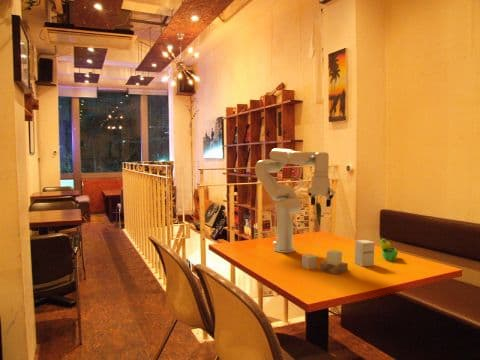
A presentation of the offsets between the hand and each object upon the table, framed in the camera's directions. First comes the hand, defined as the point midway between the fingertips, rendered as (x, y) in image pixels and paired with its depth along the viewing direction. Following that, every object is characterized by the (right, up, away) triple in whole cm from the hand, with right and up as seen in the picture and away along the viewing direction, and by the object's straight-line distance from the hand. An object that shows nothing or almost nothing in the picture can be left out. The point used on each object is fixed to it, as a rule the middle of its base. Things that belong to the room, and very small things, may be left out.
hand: (320, 205), depth 209 cm
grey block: (-8, -31, -12) cm, 35 cm away
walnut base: (+3, -32, -18) cm, 37 cm away
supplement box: (+22, -31, -7) cm, 39 cm away
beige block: (+3, -28, -18) cm, 33 cm away
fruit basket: (+39, -31, +5) cm, 50 cm away
